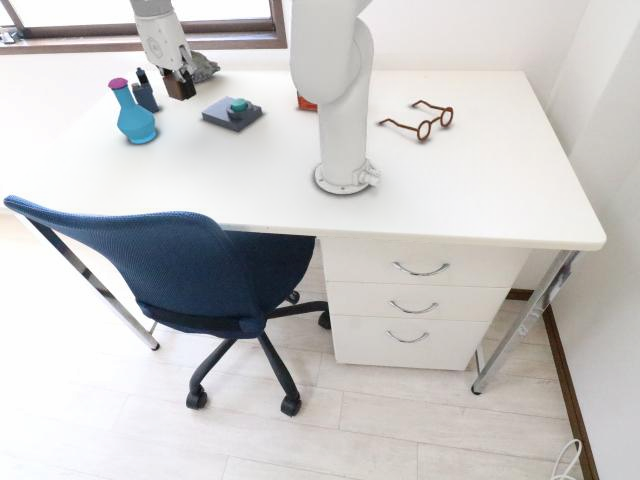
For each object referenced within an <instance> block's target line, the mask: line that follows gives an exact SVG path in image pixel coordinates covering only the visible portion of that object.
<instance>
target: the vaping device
mask: <svg viewBox="0 0 640 480" xmlns="http://www.w3.org/2000/svg"><path fill="white" fill-rule="evenodd" d="M135 75H136V77H137V79H138V82H139V83H138V82H133V83H131V85H130V86H131V91H132V92H131V93H132V94H133V98H134V100H135V102H136V104H138V105H140V106H141V107H143V108H144V109H146V110H148V111H149V112H151V113H152V114H153V113H156V112H159V111H160V107H159V105H158V103H157V101H156V98H155V96H154V90H153V87H152V85H151V83H150V81H149V79H148V76H147V73H146V71H145V69H142V67H139V66H138V67H137V68H136V71H135Z"/></svg>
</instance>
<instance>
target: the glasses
mask: <svg viewBox="0 0 640 480" xmlns="http://www.w3.org/2000/svg"><path fill="white" fill-rule="evenodd" d="M419 104H423V105H425V106H427V107H428V108H430V109H432V110H433V109H434V110H438V111H442V112H441V113H440V116H437V117H435V118H433V119H432V120H428V119H424V120H423V121H421V122H420V123H419V125H418V126H417V128H416V127H412V126H409V125H405V124H402V123H398V122H397V121H395V119H392V118H390V117H388V118H386V119H384V120H383V119H382V120H380V121H379V125H382V124H384V123H387V122H390V123H391V124H393V125H395V126H396V127H399V128H402V129H405V130H408V131H412V132H416V138H417V139H418V140H419V141H421V142H423V141H425V140H427V139H428V138H429V136H430V134H431V130H432V125H433V124H434V123H435V122H437V121H439V123H440V126H441V127H442V128H447V127H448V126H449V125H450V124H451V123H452V121H453V119H454V108H453V107H452V106H447V107H443V106H437V105H433V104H430V103H429V102H428V101H424V100H422V99H419V100H418V101H415V102H414V103H412V104H411V107H412V108H413V107H416V106H418V105H419ZM446 112H447V113H450V117H449V120H448V121H447V122H446V123H445V124H444V116H445V114H446ZM425 124H427V125H428V129H427V133H426V134H425V136H423V137H421V129H422V127H423V125H425Z"/></svg>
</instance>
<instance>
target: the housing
mask: <svg viewBox="0 0 640 480" xmlns="http://www.w3.org/2000/svg"><path fill="white" fill-rule="evenodd" d="M234 99H235V98H234V97H230V96H228V95H226V96H225V97H223V98H221V99H220V100H218V101H217V102H215V103H214V104H211V105H210V106H209V107H207V108H206V109H204V110H203V111H201V112H200V113H201V116H202V120H203V121H206V122H210V123H212V124H215V125H218V126H220V127H223V128H226V129H229V130H232V131H235V132H237V133H239V132H240V131H242V130H243V129H245V128H246V127H247V126H249V125H250V124H251V123H253V122H254V121H256V120H257V119H258V118H259V117H261V116H262V115H263V109H262V106H260V105H256V104H254V103H252V102H251V101H249V100H246V99H245V100H246V104H247V108H246V109H244V110H241V111H233V110H232V107H231V101H232V100H234Z"/></svg>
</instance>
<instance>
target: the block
mask: <svg viewBox="0 0 640 480" xmlns="http://www.w3.org/2000/svg"><path fill="white" fill-rule="evenodd" d="M182 73H184V72H183V71H182ZM161 78H162V81H163V84H164V87H165V89H166V92H167V94H168V95H167V96H168V97H169V98H172V99H174V100H177V101H180V102H184V101H185V100H186V99H185V98H184V95H183V92H182V89H181V86H180V84H179V82H181V81H180V79H179V77H178V75H177V72H176V71H173V72H172V73H170V74H168V75H167V76H165V77H163V76H162V77H161ZM195 90H196V93H197V89H196V88H195ZM186 101H187V100H186Z"/></svg>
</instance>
